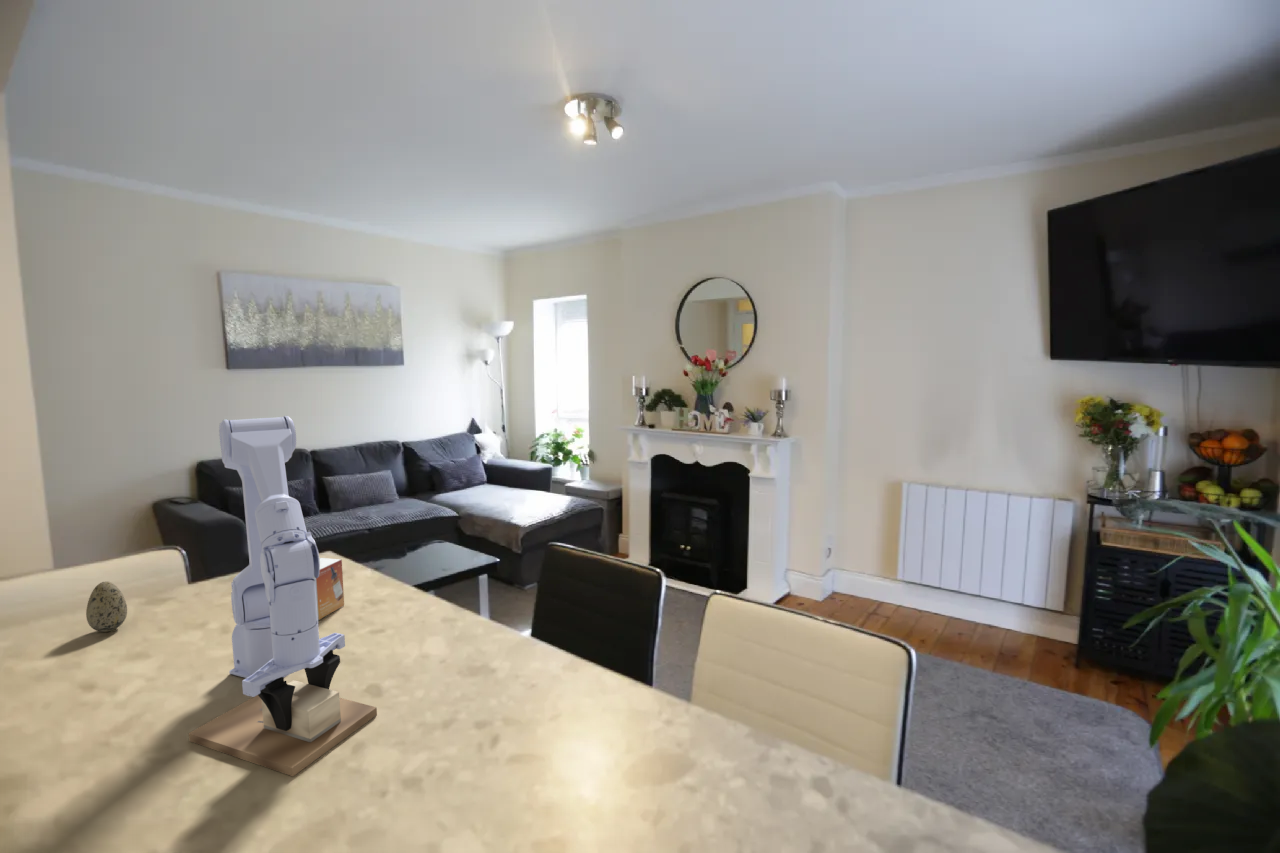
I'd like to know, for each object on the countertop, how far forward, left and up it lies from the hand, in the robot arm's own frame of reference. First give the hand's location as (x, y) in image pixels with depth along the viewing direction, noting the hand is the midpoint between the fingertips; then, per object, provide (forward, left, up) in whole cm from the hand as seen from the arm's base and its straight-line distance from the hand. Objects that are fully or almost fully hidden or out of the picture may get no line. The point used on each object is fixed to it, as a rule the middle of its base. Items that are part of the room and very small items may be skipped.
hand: (301, 716), depth 84 cm
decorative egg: (-64, +10, -3) cm, 65 cm away
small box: (-32, +31, -3) cm, 45 cm away
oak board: (-3, 0, -2) cm, 4 cm away
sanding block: (0, 0, -1) cm, 1 cm away
